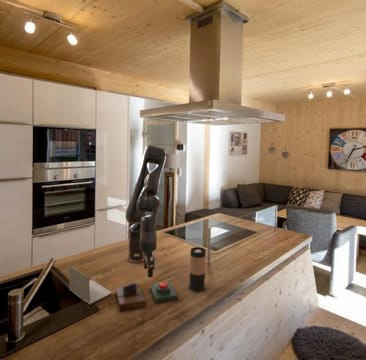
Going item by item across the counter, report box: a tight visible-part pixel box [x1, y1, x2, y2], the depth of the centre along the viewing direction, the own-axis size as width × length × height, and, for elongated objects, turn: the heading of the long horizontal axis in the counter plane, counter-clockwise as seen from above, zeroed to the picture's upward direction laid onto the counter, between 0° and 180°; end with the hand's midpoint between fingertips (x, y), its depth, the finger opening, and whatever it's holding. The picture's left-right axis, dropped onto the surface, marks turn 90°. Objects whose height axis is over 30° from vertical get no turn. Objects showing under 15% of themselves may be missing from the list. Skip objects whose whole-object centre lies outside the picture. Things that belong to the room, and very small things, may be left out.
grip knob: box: [122, 282, 138, 297], centre depth 129 cm, size 6×2×5 cm, turn 122°
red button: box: [159, 281, 168, 289], centre depth 134 cm, size 4×4×2 cm
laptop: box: [68, 265, 113, 305], centre depth 135 cm, size 18×12×13 cm
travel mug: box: [189, 246, 207, 292], centre depth 140 cm, size 8×8×20 cm
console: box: [115, 284, 146, 312], centre depth 130 cm, size 14×11×3 cm
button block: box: [149, 282, 178, 304], centre depth 135 cm, size 12×10×4 cm
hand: (148, 272), depth 131 cm, fingers open, 8 cm apart
